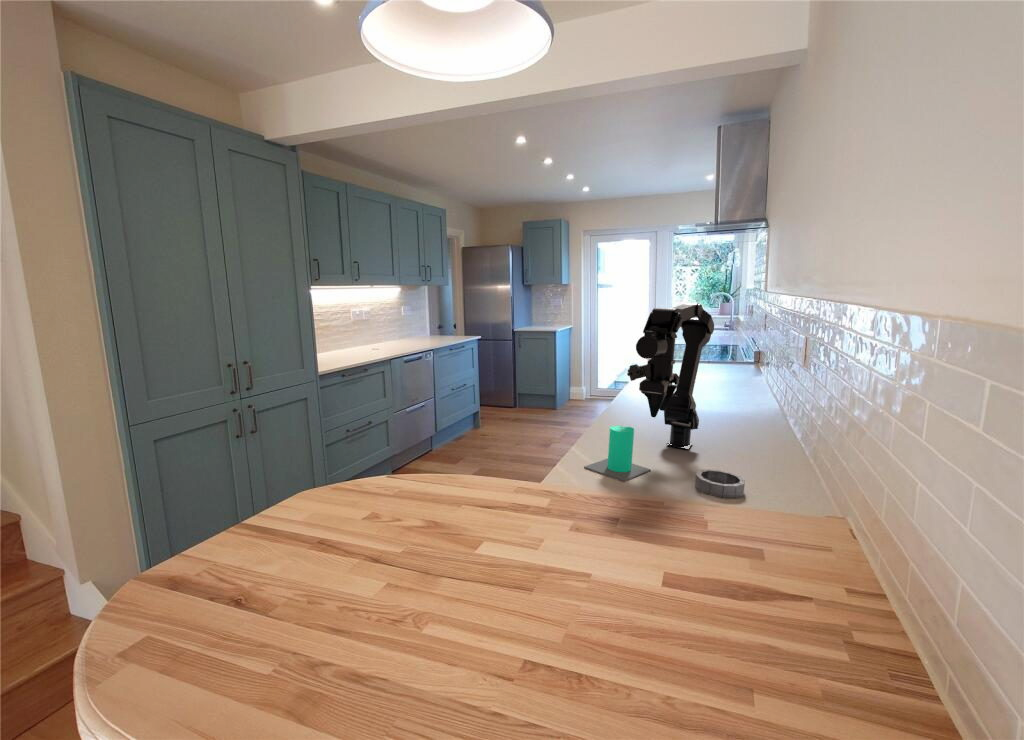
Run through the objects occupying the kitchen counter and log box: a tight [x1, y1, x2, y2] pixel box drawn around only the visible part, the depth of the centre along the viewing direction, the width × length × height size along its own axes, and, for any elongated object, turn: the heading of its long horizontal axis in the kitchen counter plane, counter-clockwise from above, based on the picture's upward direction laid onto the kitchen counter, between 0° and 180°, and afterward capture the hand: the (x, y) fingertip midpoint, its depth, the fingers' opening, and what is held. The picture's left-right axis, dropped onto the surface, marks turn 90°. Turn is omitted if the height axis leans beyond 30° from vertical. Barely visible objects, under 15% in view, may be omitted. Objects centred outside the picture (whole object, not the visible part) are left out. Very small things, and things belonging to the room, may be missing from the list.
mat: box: [583, 457, 652, 483], centre depth 123 cm, size 12×12×1 cm
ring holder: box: [694, 468, 746, 500], centre depth 112 cm, size 10×10×3 cm
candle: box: [607, 422, 635, 472], centre depth 122 cm, size 6×6×12 cm
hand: (657, 413), depth 129 cm, fingers open, 9 cm apart
